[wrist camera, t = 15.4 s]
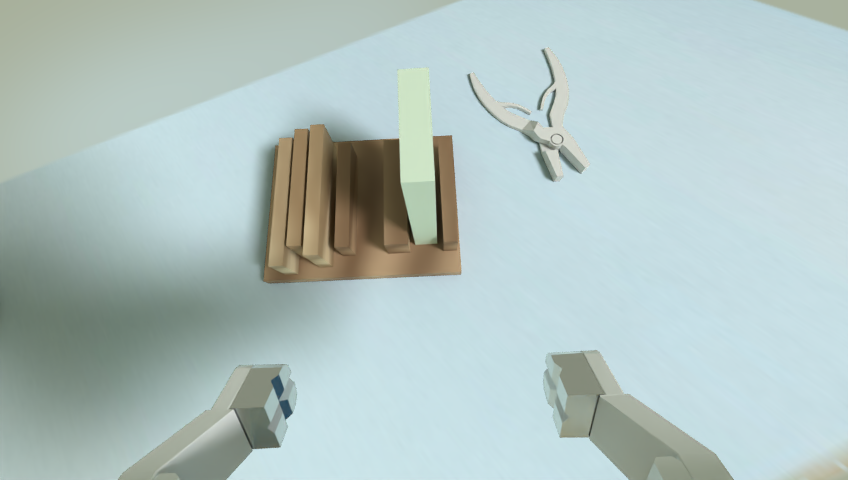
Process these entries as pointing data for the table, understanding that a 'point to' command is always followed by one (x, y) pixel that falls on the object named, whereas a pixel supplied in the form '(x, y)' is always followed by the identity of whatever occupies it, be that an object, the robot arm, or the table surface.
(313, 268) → the offcut rack
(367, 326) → the table surface
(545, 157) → the pliers
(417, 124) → the pale green flat block
